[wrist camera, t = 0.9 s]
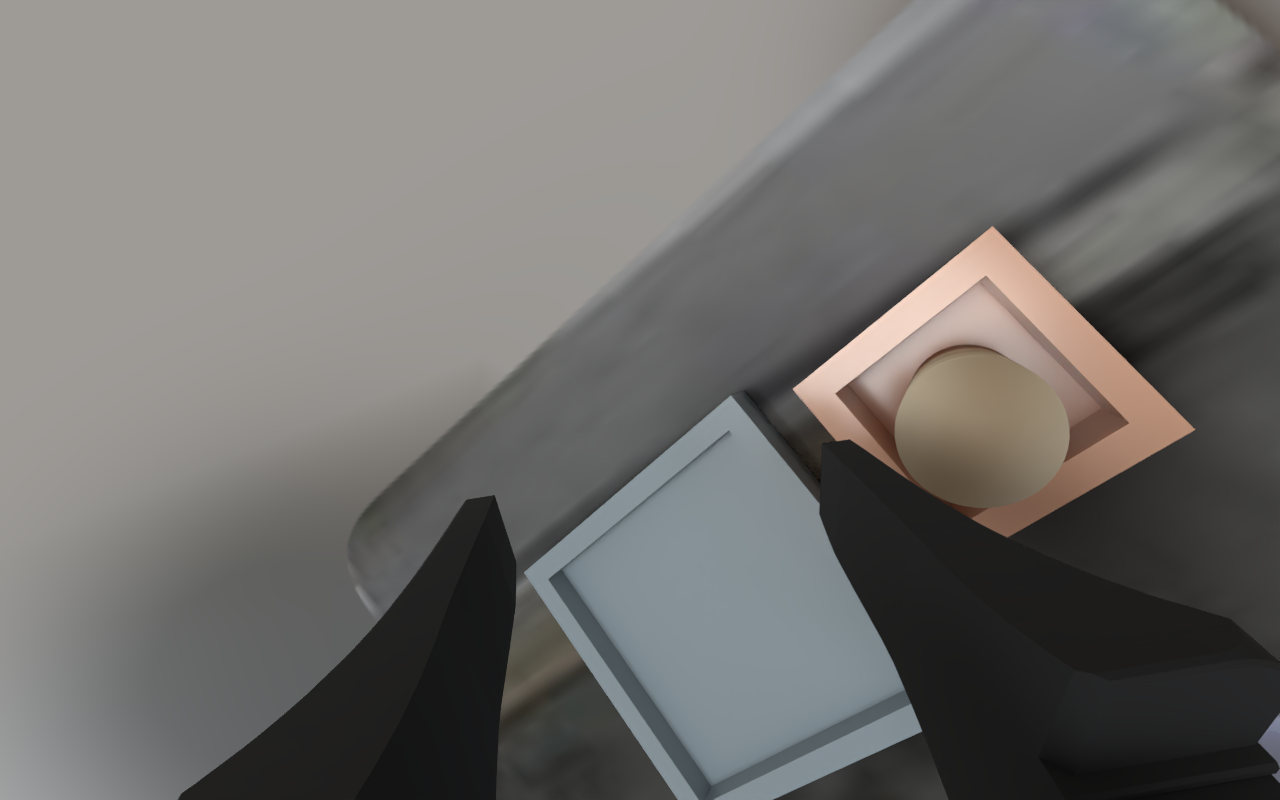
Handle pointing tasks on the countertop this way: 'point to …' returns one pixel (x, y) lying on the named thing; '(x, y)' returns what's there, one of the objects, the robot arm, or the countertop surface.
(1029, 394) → the beech dowel
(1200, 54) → the countertop surface
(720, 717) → the slate tray
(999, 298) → the terracotta square open box
